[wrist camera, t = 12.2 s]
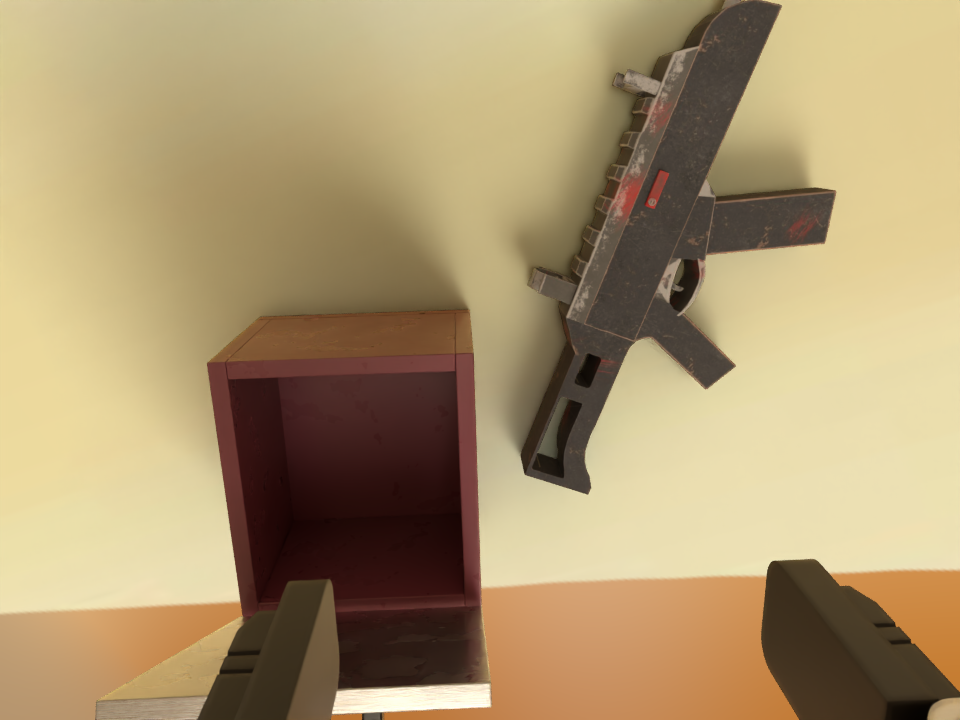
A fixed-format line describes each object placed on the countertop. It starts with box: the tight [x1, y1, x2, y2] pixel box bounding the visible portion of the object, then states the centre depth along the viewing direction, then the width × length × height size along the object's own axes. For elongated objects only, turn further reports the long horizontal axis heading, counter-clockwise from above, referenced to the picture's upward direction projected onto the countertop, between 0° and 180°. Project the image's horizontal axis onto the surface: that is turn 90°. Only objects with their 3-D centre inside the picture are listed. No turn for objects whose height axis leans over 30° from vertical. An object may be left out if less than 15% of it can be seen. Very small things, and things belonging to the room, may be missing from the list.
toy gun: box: [520, 0, 836, 494], centre depth 42 cm, size 3×32×15 cm
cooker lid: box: [95, 606, 492, 720], centre depth 30 cm, size 15×13×6 cm
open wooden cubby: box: [207, 310, 482, 616], centre depth 41 cm, size 14×13×10 cm
